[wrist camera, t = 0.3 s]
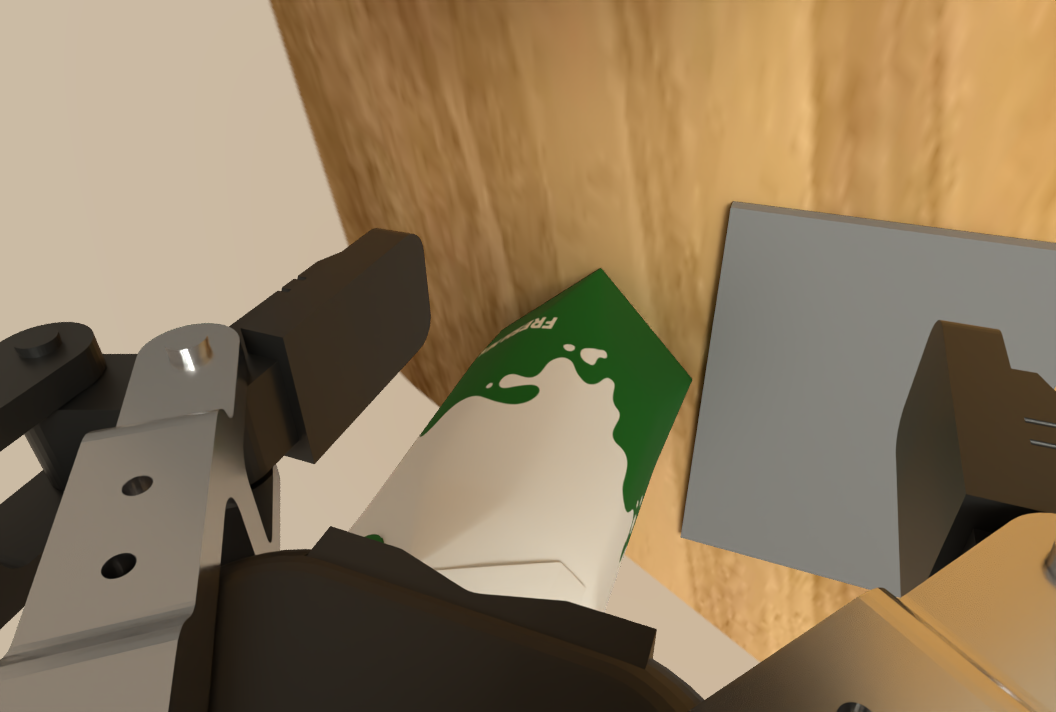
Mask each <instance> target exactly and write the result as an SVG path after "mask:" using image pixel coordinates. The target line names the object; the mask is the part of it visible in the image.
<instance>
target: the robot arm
mask: <svg viewBox="0 0 1056 712" xmlns="http://www.w3.org/2000/svg"><path fill="white" fill-rule="evenodd" d="M430 319H431V314H430V304H429V295H428V285H427V276H426V267H425V258H424V250H423V245H422V242H421V240H420V238H419V237H418V236H417V235H415V234H410V233H404V232H398V231H392V230H386V229H379V228H375V229H372V230H370V231H369V232H367V233H366V234H365V235H363V236H362V237H361V238H359V239H358V240H357V241H355V242H354V243H353V244H351V245H350V246H349V247H347V248H346V249H345V250H344V251H342V252H340V253H337V254H335V255H333V256H330V257H328V258H325V259H323V260H320V261H318V262H316V263H315V264H313V265H312V266H311V267H309V268H308V269H307V270H305V271H304V272H303V273H301V274H300V275H298V279H293V280H292V281H290V282H289V283H288V284H286V285H285V286H284V287H282V291H277V292H275V293H274V294H273V295H271V296H270V297H269V298H267V299H266V300H265V301H263V302H262V303H260V304H259V305H258V306H257V307H255V308H254V309H252V310H251V311H250V312H248V313H247V314H245V315H244V316H243V317H242V318H240V319H239V320H237V321H236V322H235V323H233V324H232V325H231V326H229V327H228V326H225V325H221V324H213V323H202V324H193V325H187V326H183V327H180V328H176V329H173V330H170V331H167V332H165V333H163V334H161V335H159V336H157V337H155V338H154V339H152V340H151V341H149V342H148V343H147V344H146V345H145V346H143V347H142V349H141V350H140V351H139V353H138V354H102V352H101V350H100V348H99V345H98V343H97V341H96V338H95V336H94V334H93V331H92V330H91V329H90V328H89V327H88V326H86V325H84V324H80V323H74V322H61V323H60V322H59V323H51V324H46V325H41V326H36V327H33V328H30V329H27V330H24V331H21V332H19V333H17V334H14V335H12V336H10V337H8V338H6V339H5V340H3V341H1V342H0V451H2V450H3V449H4V448H6V447H7V446H9V445H10V444H11V443H13V442H14V441H15V440H17V439H18V438H19V437H21V436H22V435H25V436H26V438H27V440H28V442H29V444H30V446H31V448H32V449H33V451H34V453H35V455H36V457H37V458H38V461H39V462H40V464H41V466H42V468H43V471H41V472H40V473H39V474H38V475H36V476H35V477H34V478H33V479H31V480H30V481H29V482H28V483H26V484H25V485H24V486H23V487H21V488H20V489H19V490H18V491H16V492H15V493H14V494H13V495H12V496H10V497H9V498H8V499H6V500H5V501H4V502H3V503H2V504H0V629H1V628H2V627H3V626H4V625H5V624H6V623H7V622H8V621H10V620H11V619H12V618H13V617H14V616H15V615H16V614H17V613H18V612H19V611H20V610H21V609H22V608H23V607H24V606H25V607H24V610H23V612H22V616H21V618H20V621H19V624H18V627H17V630H16V633H15V636H14V639H13V641H12V644H11V646H10V648H9V650H8V652H7V653H6V655H5V656H4V657H3V658H2V659H1V660H0V712H1056V391H1055V390H1054V389H1053V388H1052V387H1051V386H1050V385H1049V384H1048V383H1047V382H1046V381H1045V380H1044V379H1043V378H1042V377H1041V376H1040V375H1039V374H1038V373H1034V372H1028V371H1023V370H1017V369H1011V366H1010V362H1009V358H1008V355H1007V351H1006V347H1005V343H1004V339H1003V336H1002V333H1001V331H1000V330H999V329H993V328H987V327H981V326H975V325H969V324H962V323H956V322H950V321H944V320H938V321H936V323H935V324H934V326H933V328H932V330H931V332H930V335H929V337H928V340H927V343H926V346H925V349H924V352H923V354H922V357H921V360H920V363H919V366H918V369H917V371H916V374H915V377H914V380H913V383H912V386H911V388H910V391H909V394H908V397H907V400H906V403H905V405H904V408H903V411H902V415H901V419H900V423H899V428H898V433H897V440H896V475H897V504H898V533H899V562H900V591H901V598H899V599H898V598H896V597H895V596H894V595H893V594H891V593H890V592H889V591H888V590H886V589H885V588H875V589H872V590H870V591H867V592H865V593H864V594H862V595H860V596H859V597H857V598H856V599H854V600H853V601H851V602H850V603H848V604H847V605H845V606H844V607H842V608H841V609H839V610H838V611H836V612H835V613H833V614H832V615H830V616H829V617H828V618H826V619H825V620H823V621H822V622H820V623H819V624H817V625H816V626H814V627H813V628H811V629H810V630H808V631H807V632H805V633H804V634H802V635H801V636H799V637H798V638H796V639H795V640H793V641H792V642H790V643H789V644H787V645H786V646H784V647H783V648H781V649H780V650H778V651H777V652H775V653H774V654H773V655H771V656H770V657H768V658H767V659H765V660H764V661H762V662H761V663H759V664H758V665H756V666H755V667H753V668H752V669H750V670H749V671H748V672H746V673H745V674H743V675H742V676H740V677H738V678H737V679H735V680H734V681H732V682H731V683H729V684H728V685H727V686H725V687H723V688H722V689H720V690H719V691H717V692H716V693H715V694H713V695H712V696H710V697H709V698H707V699H706V700H704V699H703V698H702V697H701V696H700V695H699V694H698V693H697V692H695V690H693V688H692V687H691V686H689V685H688V684H687V683H686V682H684V681H683V680H682V679H680V678H679V677H678V676H677V675H675V674H674V673H673V672H671V671H670V670H669V669H667V668H666V667H664V666H663V665H661V664H660V663H658V662H656V661H655V660H653V652H654V645H655V638H656V631H657V630H656V629H654V628H651V627H648V626H645V625H641V624H638V623H635V622H632V621H629V620H626V619H623V618H619V617H616V616H613V615H610V614H606V613H604V612H600V611H597V610H594V609H591V608H588V607H585V606H581V605H578V604H575V603H572V602H569V601H562V600H550V599H538V598H527V597H515V596H503V595H491V594H480V593H474V592H471V591H468V590H466V589H464V588H462V587H461V586H459V585H458V584H456V583H455V582H453V581H451V580H450V579H448V578H447V577H445V576H444V575H442V574H440V573H439V572H437V571H436V570H434V569H433V568H431V567H430V566H428V565H426V564H425V563H423V562H422V561H420V560H419V559H417V558H415V557H414V556H412V555H411V554H409V553H408V552H406V551H404V550H403V549H401V548H398V547H395V546H391V545H388V544H385V543H382V542H379V541H376V540H372V539H369V538H366V537H363V536H360V535H357V534H354V533H350V532H347V531H344V530H341V529H337V528H335V527H331V526H330V527H329V529H328V530H327V531H326V532H325V534H324V535H323V536H322V537H321V539H320V540H319V541H318V542H317V543H316V545H315V546H314V547H313V548H312V550H310V549H301V550H299V549H298V550H282V551H280V476H279V472H278V469H277V466H276V463H277V462H278V461H279V460H280V459H281V458H282V457H283V456H288V457H292V458H295V459H298V460H302V461H305V462H309V463H312V464H315V463H316V462H317V461H318V460H319V459H320V458H321V456H322V455H323V454H324V453H325V452H326V451H327V450H328V449H329V448H330V446H331V445H332V444H333V443H334V442H335V441H336V440H337V439H338V438H339V437H340V436H341V434H342V433H343V432H344V431H345V430H346V429H347V428H348V427H349V426H350V425H351V424H352V423H353V421H354V420H355V419H356V418H357V417H358V416H359V415H360V414H361V413H362V412H363V411H364V409H365V408H366V407H367V406H368V405H369V404H370V403H371V402H372V401H373V400H374V399H375V397H376V396H377V395H378V394H379V393H380V392H381V391H382V390H383V389H384V387H386V385H387V384H388V383H389V382H390V381H391V380H392V379H393V378H394V377H395V376H396V375H397V373H398V372H399V371H400V370H401V369H402V368H403V367H404V366H405V365H406V364H407V362H408V361H409V360H410V359H411V358H412V357H413V356H414V355H415V354H416V353H417V352H418V350H419V349H420V348H421V347H422V345H423V344H424V342H425V340H426V338H427V335H428V332H429V327H430Z"/></svg>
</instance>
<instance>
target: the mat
mask: <svg viewBox="0 0 1056 712" xmlns="http://www.w3.org/2000/svg"><path fill="white" fill-rule="evenodd" d="M938 320H944V321H950V322H956V323H962V324H969V325H975V326H981V327H987V328H993V329H999V330H1000V331H1001V333H1002V336H1003V339H1004V343H1005V347H1006V351H1007V355H1008V358H1009V362H1010V366H1011V369H1017V370H1023V371H1028V372H1034V373H1038V374H1039V375H1040V376H1041V377H1042V378H1043V379H1044V380H1045V381H1046V382H1047V383H1048V384H1049V385H1050V386H1051V387H1052V388H1053V389H1054V388H1055V386H1056V243H1051V242H1043V241H1035V240H1027V239H1020V238H1012V237H1004V236H997V235H989V234H981V233H974V232H966V231H958V230H951V229H943V228H935V227H927V226H920V225H912V224H904V223H897V222H889V221H881V220H874V219H866V218H858V217H850V216H843V215H835V214H827V213H820V212H812V211H804V210H797V209H789V208H781V207H774V206H766V205H758V204H750V203H743V202H735V201H733V203H732V205H731V209H730V216H729V222H728V229H727V235H726V242H725V249H724V255H723V262H722V268H721V275H720V282H719V288H718V295H717V301H716V308H715V314H714V321H713V328H712V334H711V341H710V347H709V354H708V361H707V367H706V374H705V380H704V387H703V393H702V400H701V407H700V413H699V420H698V426H697V433H696V440H695V446H694V453H693V459H692V466H691V473H690V479H689V486H688V492H687V499H686V505H685V512H684V519H683V525H682V532H681V538H685V539H688V540H692V541H696V542H699V543H703V544H706V545H710V546H714V547H717V548H721V549H725V550H728V551H732V552H735V553H739V554H743V555H746V556H750V557H754V558H757V559H761V560H764V561H768V562H772V563H775V564H779V565H783V566H786V567H790V568H793V569H797V570H801V571H804V572H808V573H812V574H815V575H819V576H822V577H826V578H830V579H833V580H837V581H841V582H844V583H848V584H851V585H855V586H859V587H862V588H866V589H870V590H872V589H875V588H885V589H886V590H888V591H889V592H890V593H891V594H893V595H894V596H895V597H899V598H901V591H900V562H899V533H898V504H897V475H896V440H897V433H898V428H899V423H900V419H901V415H902V411H903V408H904V405H905V403H906V400H907V397H908V394H909V391H910V388H911V386H912V383H913V380H914V377H915V374H916V371H917V369H918V366H919V363H920V360H921V357H922V354H923V352H924V349H925V346H926V343H927V340H928V337H929V335H930V332H931V330H932V328H933V326H934V324H935V323H936V321H938Z"/></svg>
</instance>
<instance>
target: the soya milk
mask: <svg viewBox="0 0 1056 712" xmlns="http://www.w3.org/2000/svg"><path fill="white" fill-rule="evenodd" d="M691 382H692V378H691V377H690V376H689V375H688V373H687V372H686V371H685V370H684V368H683V367H682V366H681V365H680V364H679V362H678V361H677V360H676V359H675V358H674V356H673V355H672V354H671V353H670V351H669V350H668V349H667V348H666V347H665V345H664V344H663V343H662V342H661V340H660V339H659V338H658V337H657V336H656V334H655V333H654V332H653V331H652V329H651V328H650V327H649V326H648V325H647V323H646V322H645V321H644V320H643V318H642V317H641V316H640V315H639V314H638V312H637V311H636V310H635V309H634V308H633V306H632V305H631V304H630V303H629V301H628V300H627V299H626V298H625V297H624V295H623V294H622V293H621V292H620V290H619V289H618V288H617V287H616V286H615V284H614V283H613V282H612V281H611V279H610V278H609V277H608V276H607V275H606V273H605V272H604V271H603V270H602V269H601V268H600V269H598V270H597V271H595V272H594V273H592V274H590V275H589V276H587V277H586V278H584V279H582V280H581V281H579V282H578V283H576V284H574V285H573V286H571V287H570V288H568V289H567V290H565V291H563V292H562V293H560V294H559V295H557V296H555V297H554V298H552V299H551V300H549V301H547V302H546V303H544V304H543V305H541V306H539V307H538V308H536V309H535V310H533V311H532V312H530V313H528V314H527V315H525V316H524V317H522V318H520V319H519V320H517V321H516V322H514V323H512V324H511V325H509V326H508V327H506V328H504V329H503V330H502V331H501V332H500V333H499V334H498V335H497V336H496V337H495V339H494V340H493V341H492V342H491V343H490V344H489V345H488V346H487V347H486V348H485V349H484V350H483V351H482V353H481V354H480V355H479V356H478V357H477V359H476V360H475V361H474V362H473V364H472V365H471V366H470V368H469V369H468V370H467V372H466V373H465V374H464V376H463V377H462V378H461V380H460V381H459V382H458V384H457V385H456V387H455V388H454V389H453V391H452V392H451V393H450V395H449V396H448V397H447V399H446V400H445V402H444V403H443V404H442V406H441V407H440V408H439V410H438V411H437V413H436V414H435V415H434V417H433V418H432V419H431V421H430V422H429V424H428V425H427V427H426V428H425V429H424V430H423V432H422V433H421V434H420V436H419V437H418V439H417V440H416V441H415V443H414V444H413V445H412V447H411V448H410V449H409V451H408V452H407V454H406V455H405V456H404V458H403V459H402V461H401V462H400V463H399V464H398V466H397V467H396V469H395V470H394V472H393V473H392V474H391V475H390V477H389V478H388V480H387V481H386V482H385V484H384V485H383V486H382V488H381V489H380V491H379V492H378V493H377V495H376V496H375V497H374V499H373V500H372V501H371V503H370V504H369V505H368V507H367V508H366V509H365V511H364V512H363V513H362V515H361V516H360V517H359V518H358V520H357V521H356V522H355V523H354V525H353V526H352V527H351V529H350V530H349V531H348V532H350V533H354V534H357V535H360V536H363V537H366V538H369V539H372V540H376V541H379V542H382V543H385V544H388V545H391V546H395V547H398V548H401V549H403V550H404V551H406V552H408V553H409V554H411V555H412V556H414V557H415V558H417V559H419V560H420V561H422V562H423V563H425V564H426V565H428V566H430V567H431V568H433V569H434V570H436V571H437V572H439V573H440V574H442V575H444V576H445V577H447V578H448V579H450V580H451V581H453V582H455V583H456V584H458V585H459V586H461V587H462V588H464V589H466V590H468V591H471V592H474V593H480V594H491V595H503V596H515V597H527V598H538V599H550V600H562V601H569V602H572V603H575V604H578V605H581V606H585V607H588V608H591V609H594V610H597V611H600V612H605V609H606V606H607V603H608V600H609V597H610V594H611V592H612V588H613V585H614V583H615V580H616V577H617V574H618V571H619V568H620V565H621V562H622V559H623V557H624V554H625V551H626V548H627V545H628V542H629V539H630V536H631V533H632V530H633V527H634V525H635V522H636V519H637V516H638V513H639V510H640V507H641V504H642V501H643V498H644V496H645V493H646V490H647V487H648V484H649V481H650V478H651V475H652V473H653V470H654V467H655V465H656V462H657V460H658V458H659V455H660V453H661V451H662V448H663V446H664V444H665V442H666V439H667V437H668V435H669V432H670V430H671V428H672V425H673V423H674V421H675V418H676V416H677V414H678V412H679V409H680V407H681V405H682V402H683V400H684V398H685V395H686V393H687V391H688V388H689V386H690V384H691Z"/></svg>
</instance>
